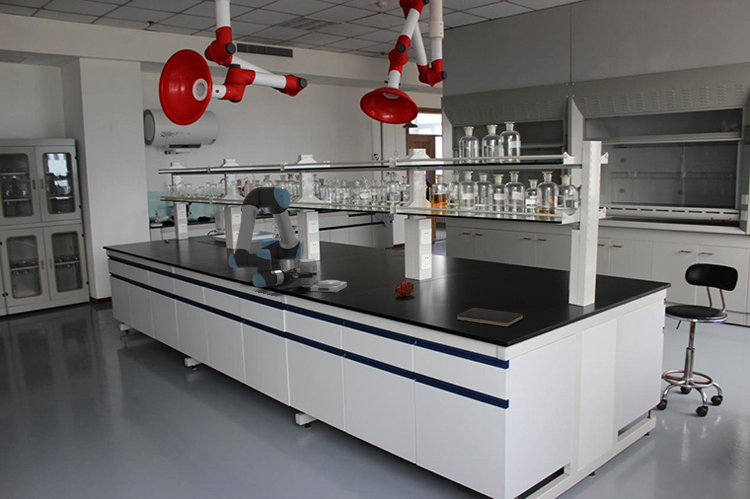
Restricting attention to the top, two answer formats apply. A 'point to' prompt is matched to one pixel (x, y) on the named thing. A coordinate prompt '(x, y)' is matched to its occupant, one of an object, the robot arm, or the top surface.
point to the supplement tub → (308, 266)
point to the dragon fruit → (404, 289)
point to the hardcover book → (490, 316)
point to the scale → (329, 286)
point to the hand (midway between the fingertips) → (313, 271)
